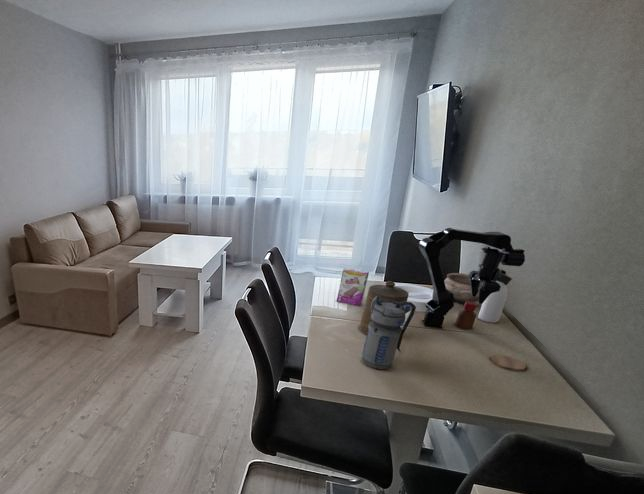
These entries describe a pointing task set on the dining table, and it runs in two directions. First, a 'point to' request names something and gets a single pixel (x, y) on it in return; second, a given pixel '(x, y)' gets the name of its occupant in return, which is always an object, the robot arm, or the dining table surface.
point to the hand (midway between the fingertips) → (477, 299)
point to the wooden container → (384, 294)
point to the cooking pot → (460, 287)
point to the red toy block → (470, 306)
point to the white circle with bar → (417, 295)
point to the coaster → (508, 363)
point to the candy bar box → (352, 286)
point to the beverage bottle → (385, 332)
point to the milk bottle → (493, 305)
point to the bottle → (465, 320)
